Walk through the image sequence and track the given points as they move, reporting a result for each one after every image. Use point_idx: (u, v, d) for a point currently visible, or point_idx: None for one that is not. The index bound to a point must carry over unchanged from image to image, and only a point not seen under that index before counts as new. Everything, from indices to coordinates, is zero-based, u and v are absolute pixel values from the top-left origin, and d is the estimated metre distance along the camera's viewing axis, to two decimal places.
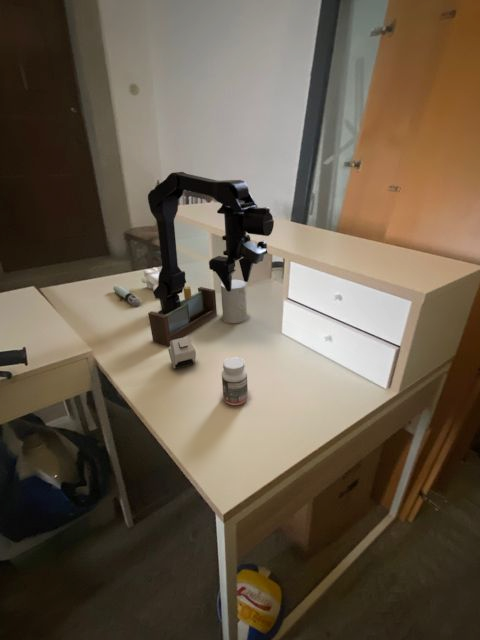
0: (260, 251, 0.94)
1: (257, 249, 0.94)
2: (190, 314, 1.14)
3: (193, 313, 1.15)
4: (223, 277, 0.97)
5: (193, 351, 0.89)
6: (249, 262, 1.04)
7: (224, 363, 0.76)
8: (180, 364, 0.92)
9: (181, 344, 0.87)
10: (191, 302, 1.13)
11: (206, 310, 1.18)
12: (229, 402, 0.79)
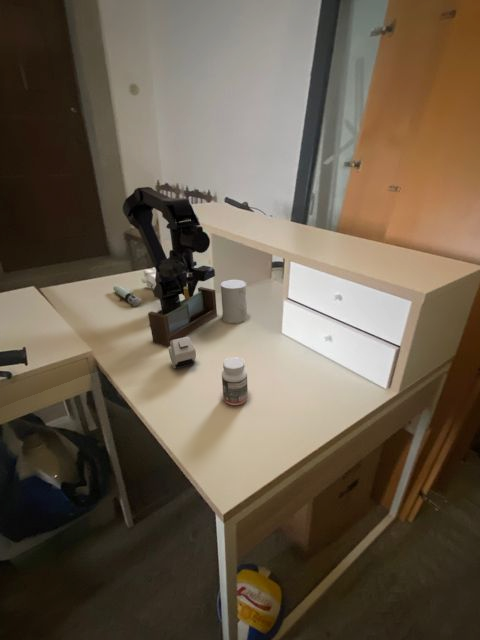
0: (164, 267, 0.99)
1: (166, 265, 1.00)
2: (190, 314, 1.14)
3: (193, 313, 1.15)
4: None
5: (193, 351, 0.89)
6: None
7: (224, 363, 0.76)
8: (180, 364, 0.92)
9: (181, 344, 0.87)
10: (191, 302, 1.13)
11: (206, 310, 1.18)
12: (229, 402, 0.79)
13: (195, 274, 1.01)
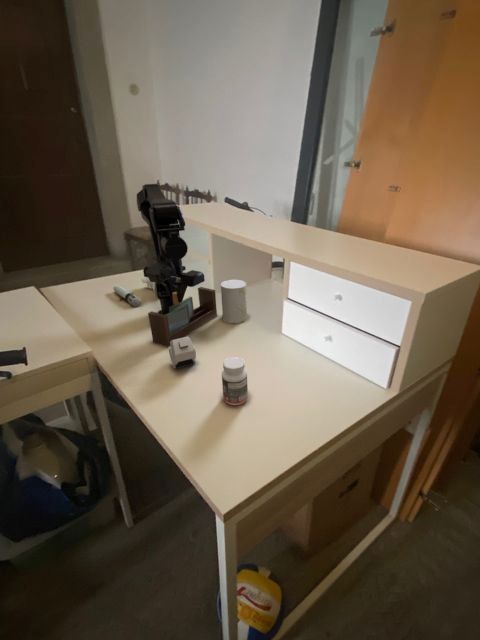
0: (151, 272, 0.95)
1: (154, 270, 0.96)
2: None
3: None
4: None
5: (193, 351, 0.89)
6: None
7: (224, 363, 0.76)
8: (180, 364, 0.92)
9: (181, 344, 0.87)
10: None
11: (206, 310, 1.18)
12: (229, 402, 0.79)
13: (184, 279, 0.97)
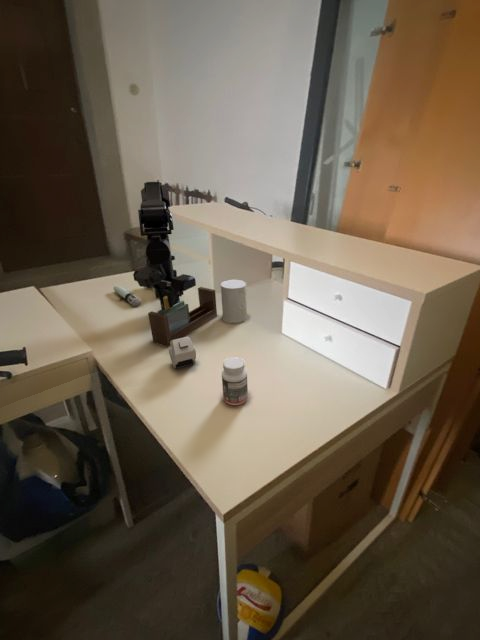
0: (140, 276, 0.92)
1: (143, 274, 0.93)
2: None
3: None
4: None
5: (193, 351, 0.89)
6: None
7: (224, 363, 0.76)
8: (180, 364, 0.92)
9: (181, 344, 0.87)
10: None
11: (206, 310, 1.18)
12: (229, 402, 0.79)
13: (174, 284, 0.94)
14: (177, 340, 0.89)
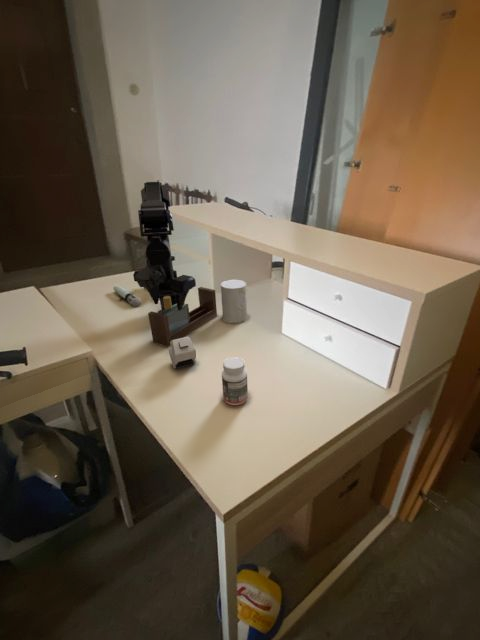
0: (140, 277, 0.92)
1: (143, 274, 0.93)
2: None
3: None
4: None
5: (193, 351, 0.89)
6: None
7: (224, 363, 0.76)
8: (180, 364, 0.92)
9: (181, 344, 0.87)
10: None
11: (206, 310, 1.18)
12: (229, 402, 0.79)
13: (174, 284, 0.94)
14: (177, 340, 0.89)
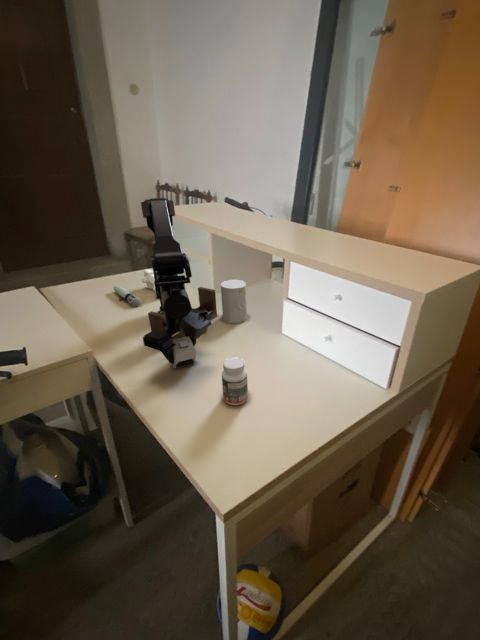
0: (201, 325, 0.83)
1: (198, 322, 0.84)
2: None
3: None
4: (163, 350, 0.87)
5: (193, 351, 0.89)
6: None
7: (224, 363, 0.76)
8: (180, 364, 0.92)
9: (181, 344, 0.87)
10: None
11: None
12: (229, 402, 0.79)
13: None
14: (177, 340, 0.89)
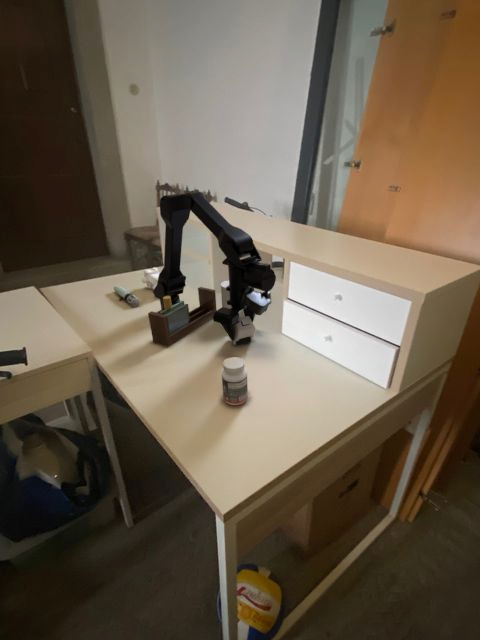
0: (264, 303, 0.94)
1: (261, 300, 0.94)
2: None
3: None
4: (227, 327, 0.97)
5: (253, 329, 1.00)
6: None
7: (224, 363, 0.76)
8: (240, 341, 1.03)
9: (244, 322, 0.98)
10: None
11: (206, 310, 1.18)
12: (229, 402, 0.79)
13: None
14: (239, 319, 0.99)
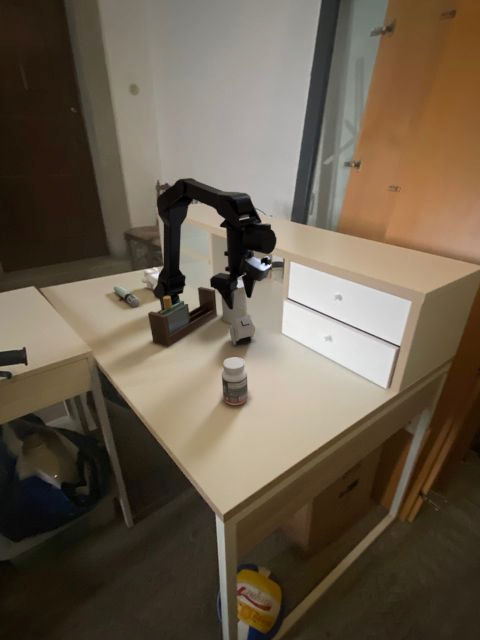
0: (264, 268, 0.89)
1: (261, 266, 0.89)
2: None
3: None
4: (225, 295, 0.92)
5: (253, 329, 1.00)
6: (252, 278, 0.98)
7: (224, 363, 0.76)
8: (240, 341, 1.03)
9: (244, 322, 0.98)
10: None
11: (206, 310, 1.18)
12: (229, 402, 0.79)
13: None
14: (239, 319, 0.99)
